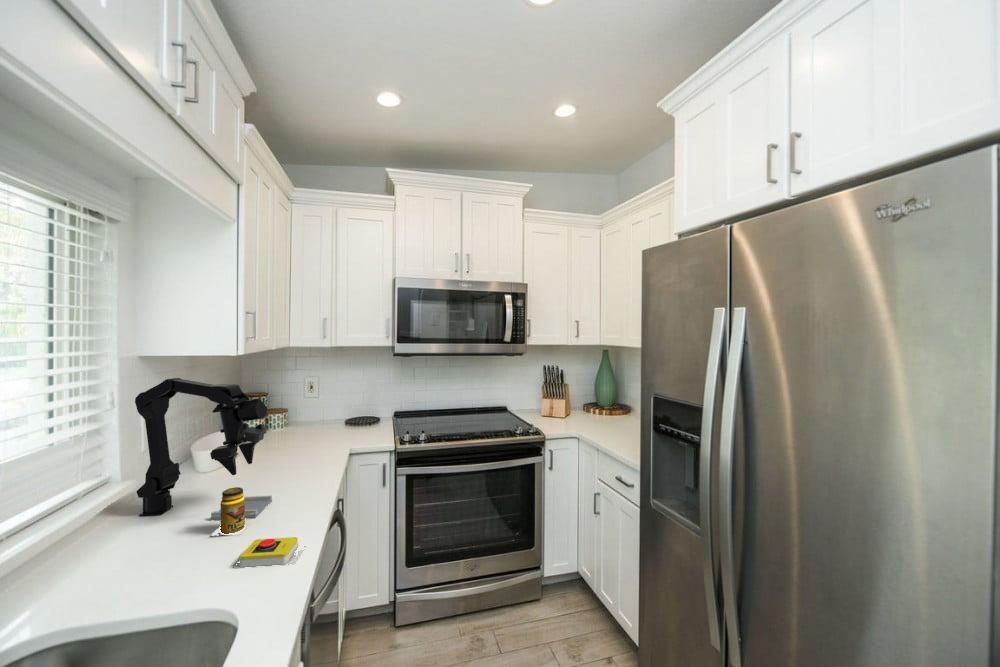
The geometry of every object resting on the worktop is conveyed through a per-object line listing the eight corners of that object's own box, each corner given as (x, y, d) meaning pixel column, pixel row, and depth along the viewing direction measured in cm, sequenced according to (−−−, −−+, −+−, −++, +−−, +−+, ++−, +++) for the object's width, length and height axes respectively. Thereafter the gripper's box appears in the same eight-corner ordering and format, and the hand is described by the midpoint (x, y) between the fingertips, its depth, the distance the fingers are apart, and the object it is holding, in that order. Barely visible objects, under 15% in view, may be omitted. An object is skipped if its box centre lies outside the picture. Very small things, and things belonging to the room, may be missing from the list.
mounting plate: (210, 520, 128) (210, 516, 128) (231, 503, 141) (231, 500, 141) (255, 518, 130) (255, 514, 130) (272, 501, 143) (272, 497, 143)
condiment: (240, 534, 120) (240, 493, 120) (207, 538, 118) (207, 496, 118) (250, 523, 127) (250, 484, 127) (219, 526, 125) (219, 486, 125)
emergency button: (249, 534, 112) (307, 531, 114) (249, 551, 112) (307, 547, 114) (231, 552, 102) (295, 548, 104) (231, 570, 102) (295, 566, 104)
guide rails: (211, 517, 129) (211, 513, 129) (231, 501, 141) (231, 497, 141) (255, 514, 130) (255, 510, 130) (271, 498, 143) (271, 495, 143)
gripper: (241, 427, 125) (252, 476, 126) (272, 411, 144) (280, 454, 145) (204, 433, 125) (215, 483, 126) (239, 417, 143) (248, 460, 144)
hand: (242, 469), depth 135 cm, fingers open, 9 cm apart
